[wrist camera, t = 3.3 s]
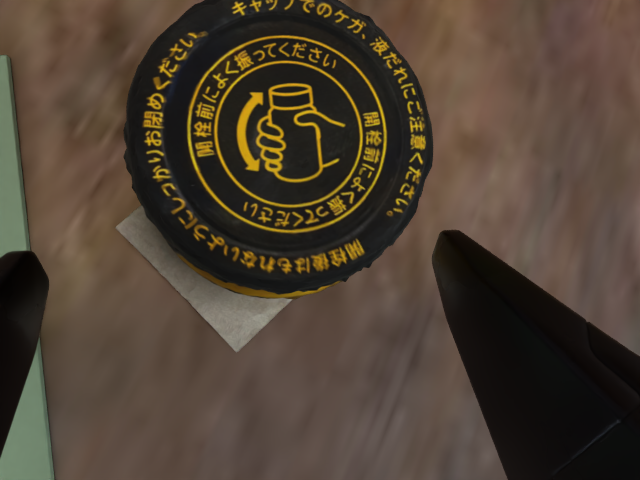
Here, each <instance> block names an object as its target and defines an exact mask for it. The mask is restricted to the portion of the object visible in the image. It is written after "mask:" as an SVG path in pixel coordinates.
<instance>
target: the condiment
mask: <svg viewBox="0 0 640 480" xmlns="http://www.w3.org/2000/svg"><path fill="white" fill-rule="evenodd" d="M124 140H125V143H126V146H127V149H126V151H125V154H124V159H125V162H126V166H127V170H128V172H129V173H130V174H131V176H132V183H133V184H132V188H133V190H134V192H135V193H136V195H137V198H138V200H139V201H140V203H141V206H140V207H139V208H137V209H136V210H135V211H133V212H132V213H131V214H130V215H129V216H128V217H127V218H126V219H124V220H123V221H122V222H121V223H120V224H119V225H117V226H116V227H115V228H116V229H117V230H118V231H119V232H120V233H121V234H122V235H123V236H124V237H125V238H126V239H127V240H128V241H129V242H130V243H131V244H132V245H133V246H134V247H135V248H136V249H137V250H138V251H139V252H140V253H141V254H142V255H143V256H144V257H145V258H146V259H147V260H148V261H149V262H150V263H151V264H152V265H153V266H154V267H155V268H156V269H157V270H158V271H159V272H160V273H161V274H162V275H163V276H164V277H165V278H166V279H167V280H168V281H169V282H170V284H171V285H172V286H173V287H174V288H175V289H176V290H177V291H178V292H179V293H180V294H181V295H182V296H183V297H184V298H185V299H187V300H188V301H189V303H190V304H191V305H192V306H193V307H194V308H195V310H196V311H197V312H198V313H199V314H200V315H201V316H202V317H203V318H204V319H205V320H206V321H207V322H208V323H209V324H210V325H211V326H212V327H213V328H214V329H215V330H216V331H217V332H218V333H219V335H220V336H221V337H222V338H223V339H224V340H225V341H226V342H227V343H228V344H229V345H230V346H231V347H232V348H233V349H234V350H235V351H236V352H238V351H239V350H240V349H241V348H242V347H243V346H244V345H245V344H246V343H247V342H248V341H250V340H251V339H252V338H253V337H254V336H255V335H256V334H257V333H258V332H259V331H260V330H261V329H262V328H263V327H264V326H265V325H266V324H267V323H268V322H269V321H270V320H272V319H273V318H274V317H275V315H276V314H277V313H278V312H279V311H280V310H282V309H283V308H284V307H285V306H286V305H287V304H288V303H289V302H290V301H291V300H292V299H297V298H299V297H301V296H304V295H307V294H312V293H318V292H320V291H322V290H324V289H326V288H327V287H330V286H334V285H336V284H337V283H339V282H342V281H344V282H346V280H347V279H348V278H349V276H351V275H353V274H354V273H356V272H357V271H361V270H362V268H363V267H365V268H369V267H370V266H371V264H372V262H373V261H374V260H375V259H377V258H378V257H379V256H381V255H382V253H383V252H384V250H385V249H386V248H387V247H388V246H391V245H393V243H394V242H395V240H396V239H397V238H398V237H399V236H400V235H401V234H402V232H403V230H404V229H405V228H406V226H407V225H408V224H409V222H410V220H411V219H412V217H413V216H414V214H415V213H416V210H417V206H418V201H419V197H421V194H422V191H423V186H424V182H425V179H426V177H427V175H428V173H429V171H430V169H431V167H432V161H433V136H432V127H431V121H430V118H429V114H428V110H427V106H426V102H425V98H424V95H423V91H422V88H421V86H420V84H419V81H418V79H417V77H416V75H415V74H414V72H413V70H412V69H411V67H410V66H409V64H408V62H407V61H406V60H405V59H404V57H403V56H402V55H401V54H400V53H399V52H398V51H397V50H396V48H395V47H394V45H393V44H392V42H391V41H390V39H389V38H388V37H387V36H386V34H385V33H384V32H383V31H382V30H381V29H380V28H379V27H377V26H376V25H375V23H374V21H373V20H372V19H371V18H370V17H369V16H366V15H363V14H361V13H358V12H355V11H353V10H352V9H351V8H350V7H348V6H347V5H345V4H344V3H342V2H340V1H338V0H204V1H203V2H200V3H198V4H195V5H194V6H192V7H191V8H190V9H189V10H187V11H186V12H185V13H184V14H183V15H182V16H181V17H180V18H179V19H178V20H177V21H176V22H175V23H173V24H172V25H171V26H170V27H169V28H167V29H166V30H165V31H164V32H163V33H162V34H161V35H160V36H159V37H158V38H157V39H156V40H155V41H154V42H153V44H152V45H151V46H150V48H149V50H148V52H147V53H146V55H145V56H144V58H143V60H142V61H141V63H140V64H139V65H138V68H137V71H136V73H135V76H134V78H133V81H132V84H131V87H130V90H129V94H128V100H127V121H126V123H125V127H124Z"/></svg>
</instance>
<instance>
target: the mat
mask: <svg viewBox="0 0 640 480" xmlns="http://www.w3.org/2000/svg"><path fill="white" fill-rule="evenodd" d="M25 250H29V251H30V243H29V233H28V224H27V214H26V205H25V195H24V186H23V177H22V167H21V158H20V148H19V139H18V129H17V120H16V110H15V101H14V91H13V82H12V72H11V63H10V58H9V57H8V56H7V55H0V257H1V256H3V255H4V254H6V253H8V252H11V251H25ZM0 480H55V479H54V470H53V460H52V451H51V441H50V432H49V423H48V413H47V404H46V394H45V385H44V375H43V366H42V356H41V347H40V337H39V340H38V344H37V348H36V352H35V356H34V359H33V362H32V365H31V368H30V371H29V374H28V377H27V380H26V383H25V386H24V389H23V392H22V395H21V398H20V401H19V404H18V407H17V410H16V413H15V416H14V419H13V422H12V425H11V428H10V431H9V434H8V437H7V440H6V443H5V446H4V449H3V452H2V455H1V458H0Z"/></svg>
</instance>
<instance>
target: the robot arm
mask: <svg viewBox="0 0 640 480" xmlns="http://www.w3.org/2000/svg"><path fill="white" fill-rule="evenodd" d="M432 265H433V269H434V273H435V277H436V281H437V285H438V288H439V292H440V296H441V300H442V304H443V308H444V312H445V315H446V319H447V322H448V324H449V327H450V330H451V332H452V335H453V338H454V340H455V343H456V346H457V348H458V351H459V353H460V356H461V359H462V361H463V364H464V366H465V369H466V372H467V374H468V377H469V379H470V382H471V385H472V387H473V390H474V393H475V395H476V398H477V400H478V403H479V406H480V408H481V411H482V413H483V416H484V419H485V421H486V424H487V426H488V429H489V432H490V434H491V437H492V440H493V442H494V445H495V447H496V450H497V453H498V455H499V458H500V460H501V463H502V466H503V468H504V471H505V473H506V476H507V479H508V480H640V356H638V355H637V354H635V353H634V352H632V351H631V350H629V349H628V348H626V347H625V346H623V345H622V344H620V343H619V342H617V341H616V340H614V339H613V338H611V337H610V336H608V335H607V334H605V333H604V332H603V331H601V330H600V329H598V328H597V327H596V326H594V325H593V324H591V323H590V322H586V320H585V319H584V318H583V317H581V316H580V315H578V314H577V313H576V312H574V311H573V310H571V309H570V308H569V307H567V306H566V305H564V304H563V303H561V302H560V301H559V300H557V299H556V298H554V297H553V296H552V295H550V294H549V293H547V292H546V291H544V290H543V289H542V288H540V287H539V286H537V285H536V284H535V283H533V282H532V281H530V280H529V279H527V278H526V277H525V276H523V275H522V274H520V273H519V272H518V271H516V270H515V269H513V268H512V267H510V266H509V265H508V264H506V263H505V262H503V261H502V260H501V259H499V258H498V257H496V256H495V255H493V254H492V253H491V252H489V251H488V250H486V249H485V248H484V247H482V246H481V245H479V244H478V243H477V242H475V241H474V240H472V239H471V238H469V237H468V236H467V235H465V234H464V233H462V232H461V231H459V230H444V231H442V232H441V233H440V234H439V237H438V240H437V243H436V246H435V249H434V251H433V255H432ZM48 290H49V279H48V276H47V274H46V272H45V271H44V269H43V267H42V265H41V263H40V262H39V260H38V258H37V256H36V255H35V253H33V252H32V251H29V250H25V251H11V252H8V253H6V254H4V255H3V256H1V257H0V458H1V455H2V452H3V449H4V446H5V443H6V440H7V437H8V434H9V431H10V428H11V425H12V422H13V419H14V416H15V413H16V410H17V407H18V404H19V401H20V398H21V395H22V392H23V389H24V386H25V383H26V380H27V377H28V374H29V371H30V368H31V365H32V362H33V359H34V356H35V352H36V348H37V344H38V340H39V335H40V330H41V325H42V320H43V315H44V310H45V305H46V300H47V295H48Z"/></svg>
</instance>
